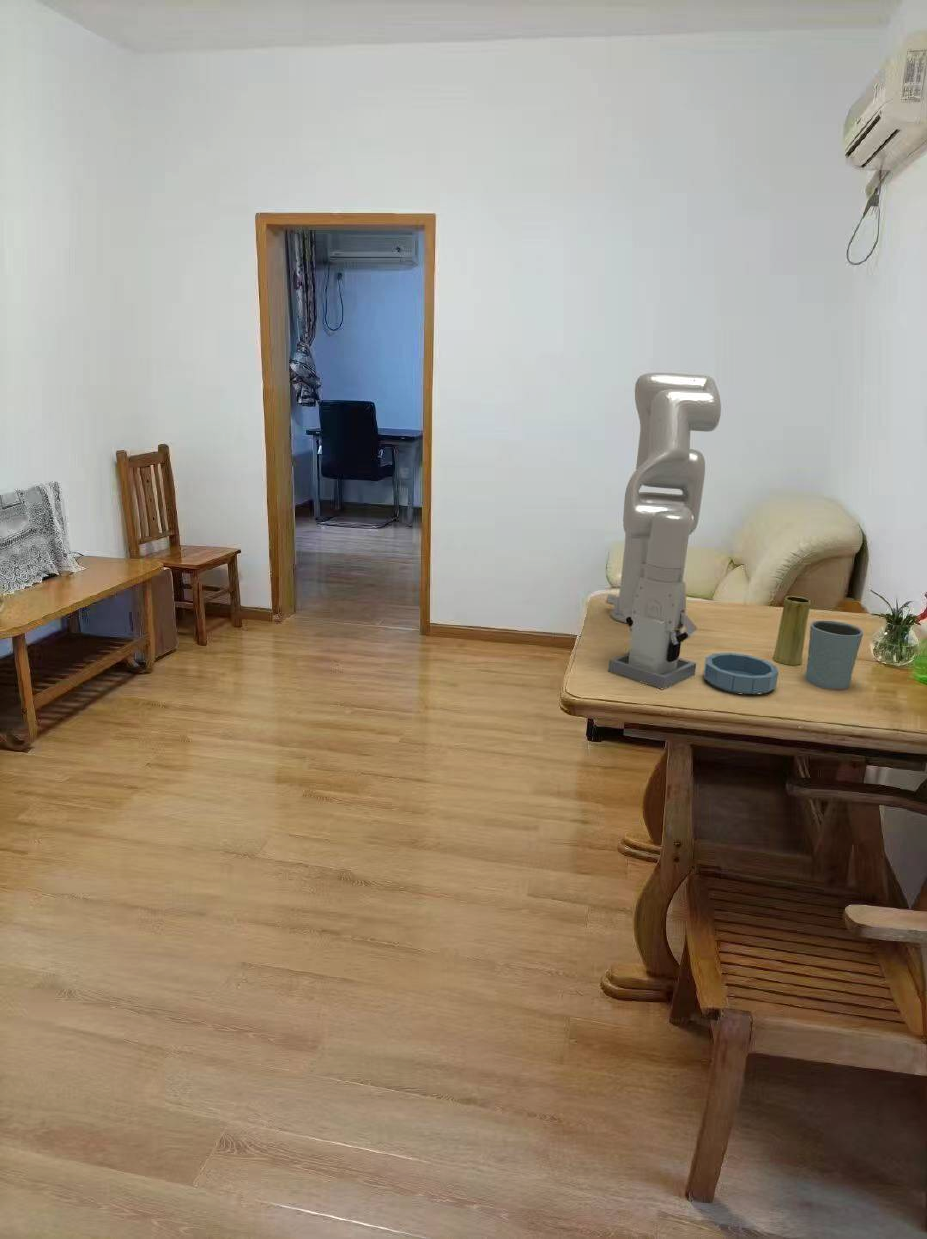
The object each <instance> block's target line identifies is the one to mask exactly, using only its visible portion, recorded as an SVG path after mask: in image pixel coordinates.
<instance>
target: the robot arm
mask: <svg viewBox="0 0 927 1239" xmlns="http://www.w3.org/2000/svg"><path fill="white" fill-rule="evenodd" d="M634 386H635V387H634V400H635V408H636V410H637V414H638V419H639V425H640V428H639V429H640V430H639V438H638V439H639V440H638V448H637V458H636V464H635V465H636V466H635V471H634V472H633V473H632V475H631V477H630V478H629V480H628V482H627V485H626V488H625V492H624V493H625V494H624V502H623V504H624V505H623V513H622V514H623V517H622V518H623V519H622V523H623V524H622V526H623V531H624V533H625V536H624V538H625V539H624V547H623V549H624V550H623V559H622V565H621V566H622V567H621V574H620V575H621V576H620V583H619V584H620V586H619V594H618V596H617V595H614V594H610V593H609V594H608V595H607V597H606V599H605V603H606V604H609V605H613V608H612V609H611V611H610V616H611V617H612V619H614V620H616V621H618V622H622V623H626V624H627V625H628V626H629V631H630V632H631V633H632V627H633V618H634V614H638V615H641V616H645V617H649V618H654V619H657V620H661V621H665V623H666V625H665V632H667V633H669V635H670V638H671V640H672V643H670V644H669V649H668V657H667V661H668V662H673V661H675V660H677V658H680V653H681V646H682V643H683V642H684V641H686V640H687V639H688V638H690V637H691V635H693V634H694V633H695V631H697V628H698V627H697V626H696V625H695V623H694V622H693V621H692V620H691V619H690V618H689V616H688V615H687V614H686V611H687V590H686V589H687V586H686V582H685V581H684V575H685V567H686V561H687V560H686V559H687V552H688V544H689V538H690V535H692V534H693V533H694V532H695V530H696V528H697V526H698V523H699V518H700V512H701V505H702V497H703V491H704V490H703V489H704V483H705V475H706V461H705V457H704V455H703V453H702V452H701V451H699V450H697V449H691V446H690V444H691V432H692V431H693V432H712V431H715V430H716V429H717V427H718V425H719V423H720V420H721V414H722V413H721V411H722V404H721V397H720V392H719V390H718V387H717V385H716V382H715V380H714V379H713V378H712V377H711V376H707V375H701V374H690V373H689V374H686V373H685V374H684V373H673V372H671V373H670V372H648V373H644V374H641V375H640V376H638V378H637V379H636V382H635V385H634ZM642 486H644V487H648V488H649V487H650V488H657V489H669V490H670V489H672V490H673V489H674V490H680V491H681V492H682V493H681V494H677V493H666V492H654V491H653V492H652V491H651V492H650V491H642V492H640V490H641V487H642ZM679 621H680V626H679V625H678V624H679ZM683 627H685V630H684V631H683V632H682V630H680V629H681V628H683ZM675 631H676V633H675Z"/></svg>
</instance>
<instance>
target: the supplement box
mask: <svg viewBox="0 0 927 1239" xmlns="http://www.w3.org/2000/svg"><path fill="white" fill-rule="evenodd" d="M665 625H666V623H665V621H661V620H657V619H654V618H649V617H645V616H641V615H638V614H634V618H633V627H632V632H631V637H630V646H629V652H630V653H629V663H628V664H629V665H633V666H636V667H639V668H642V669H645V670H648V671H651V672H654V673H657V674H660V675H665V674H667V673H669V672H671V671H673V670H676V668H677V661H678V658H679V657H678V658H677V660H675V661H673V662H668V661H667V657H668V649H669V644H670V643H672V640H671V638H670V635H669V633H667V632H665ZM678 625H679V626H680V621H679V624H678ZM682 628H683V627H682ZM682 628H681V629H680V630H681V631H682V630H683V629H682ZM675 633H676V631H675Z"/></svg>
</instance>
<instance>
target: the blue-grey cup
mask: <svg viewBox="0 0 927 1239" xmlns="http://www.w3.org/2000/svg"><path fill="white" fill-rule="evenodd" d="M863 636H864V631H863V629H861V628H860V627H858V626H856V625H853V624H850V623H847V622H846V623H845V622H840V621H835V620H834V621H833V620H816V621H813V622H811V623H810V628H809V642H808V650H807V651H808V652H807V654H808V656H807V662H806V663H807V664H806V672H805V680H806V681H807V683H809V684H810V685H813V686H816V687H818V688H821V689H827V690H835V691H836V690H837V691H841V690H846V689H848V688H849V687H850V684H851V681H852V675H853V671H854V668H855V665H856V661H857V660H856V659H857V657H858V652H859V649H860V646H861V643H862V639H863Z"/></svg>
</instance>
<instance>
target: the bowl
mask: <svg viewBox="0 0 927 1239" xmlns="http://www.w3.org/2000/svg"><path fill="white" fill-rule="evenodd" d="M778 675H779V670H778V667H777V666H776V665H775V664H773V663H771V662H769V661H768V660H765V659H763V658H759V657H756V656H752V655H748V654H742V653H735V652H734V653H733V652H722V653H721V652H720V653H712V654H710V655H708V656H706V657H705V659H704V665H703V678H704V680H706V681H707V682H708V683H709V685H712V687H713V688H716V687H717V689H718V688H719V690H722V691H724V692H727V693H731V694H736V693H742V694H758V693H764V694H766V693H765V692H767V693H769V692H771V691H773V690H774V689H775V688H776V687H777V682H778V677H779V676H778ZM742 694H741V695H742Z"/></svg>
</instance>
